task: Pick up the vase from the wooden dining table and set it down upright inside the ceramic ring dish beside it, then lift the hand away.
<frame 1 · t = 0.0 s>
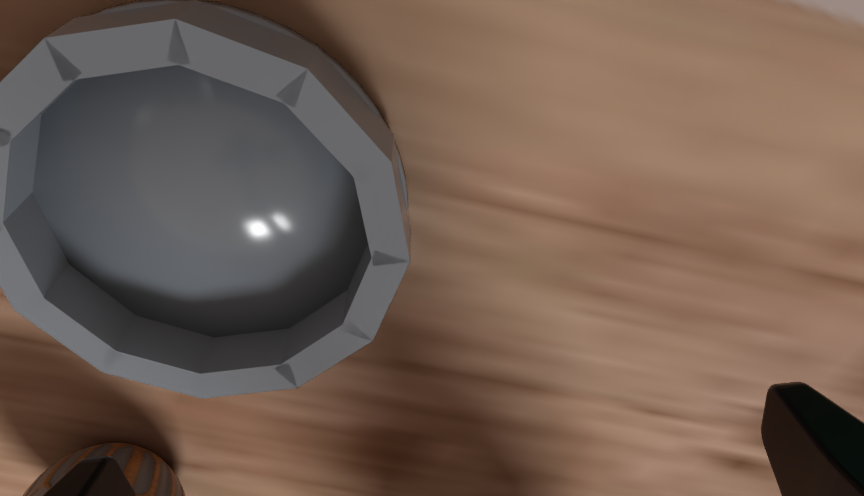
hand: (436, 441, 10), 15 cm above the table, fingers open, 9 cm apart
ring dish: (210, 201, 24), on the table
vase: (128, 468, 32), on the table
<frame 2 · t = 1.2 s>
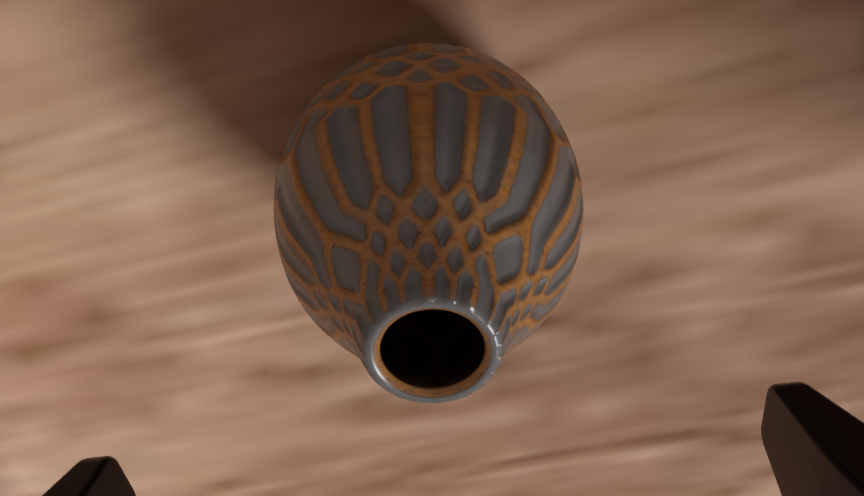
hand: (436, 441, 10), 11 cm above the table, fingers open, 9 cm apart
vase: (426, 136, 19), on the table
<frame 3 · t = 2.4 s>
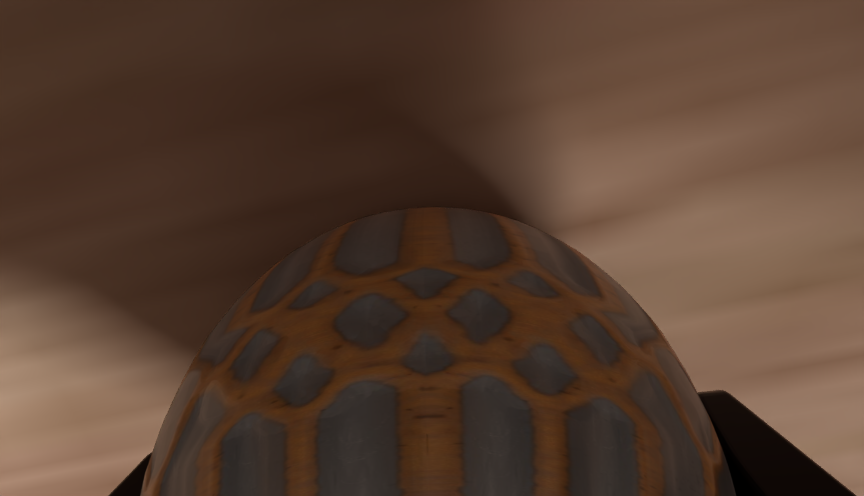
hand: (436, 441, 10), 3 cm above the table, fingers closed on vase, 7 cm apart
vase: (431, 316, 12), on the table, touching gripper
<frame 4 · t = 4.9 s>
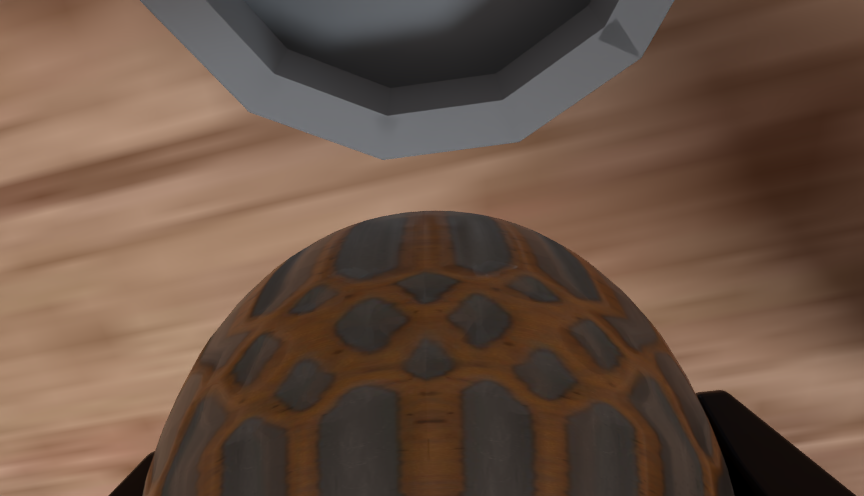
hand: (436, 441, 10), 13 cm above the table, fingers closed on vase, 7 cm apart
vase: (432, 319, 12), point 10 cm above the table, touching gripper
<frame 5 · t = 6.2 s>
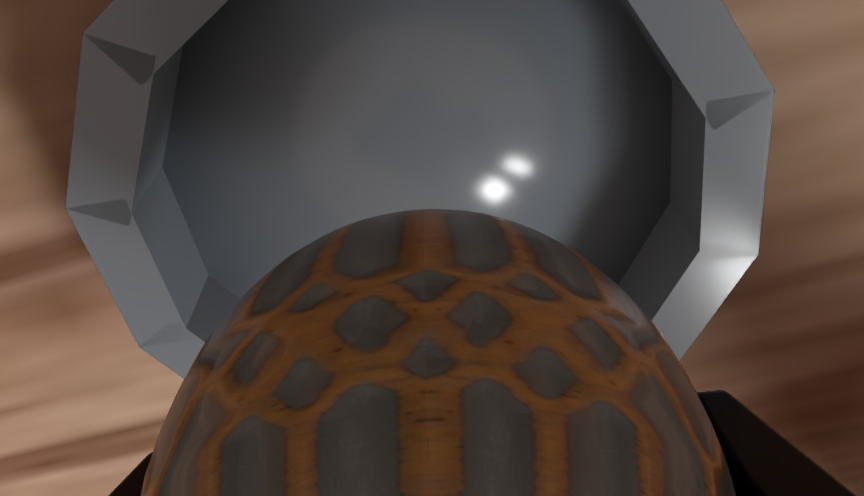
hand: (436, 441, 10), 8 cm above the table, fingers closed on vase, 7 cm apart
ring dish: (422, 174, 16), on the table
vase: (431, 318, 12), point 5 cm above the table, touching gripper
when the fingers open (4 cm above the table, at t = 7.3 s): vase drops 1 cm, resting on ring dish.
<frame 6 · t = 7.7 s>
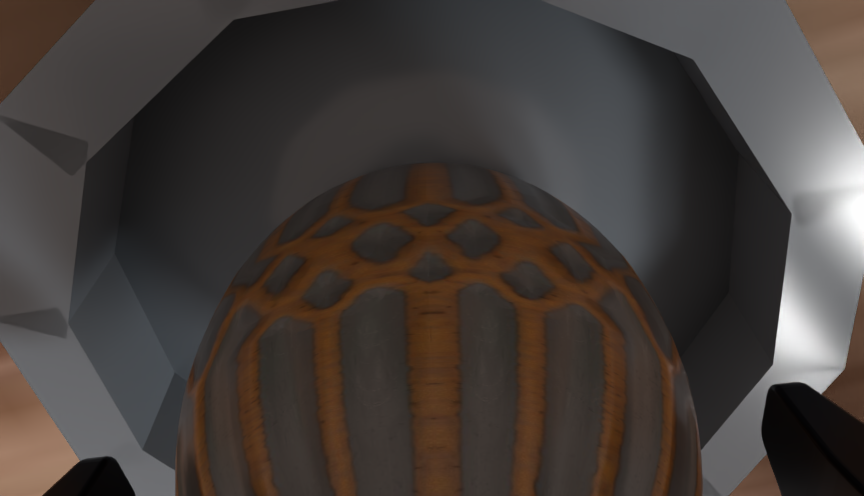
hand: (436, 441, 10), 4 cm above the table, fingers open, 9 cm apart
ring dish: (429, 258, 13), on the table
vase: (432, 271, 13), resting on ring dish
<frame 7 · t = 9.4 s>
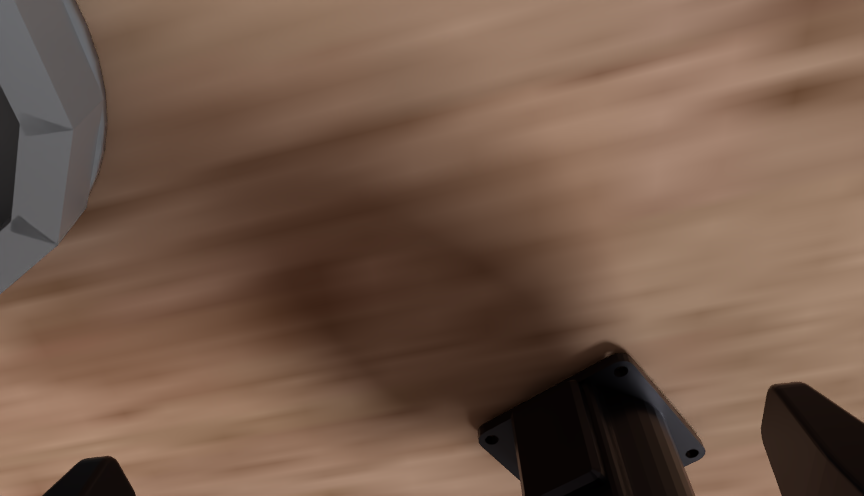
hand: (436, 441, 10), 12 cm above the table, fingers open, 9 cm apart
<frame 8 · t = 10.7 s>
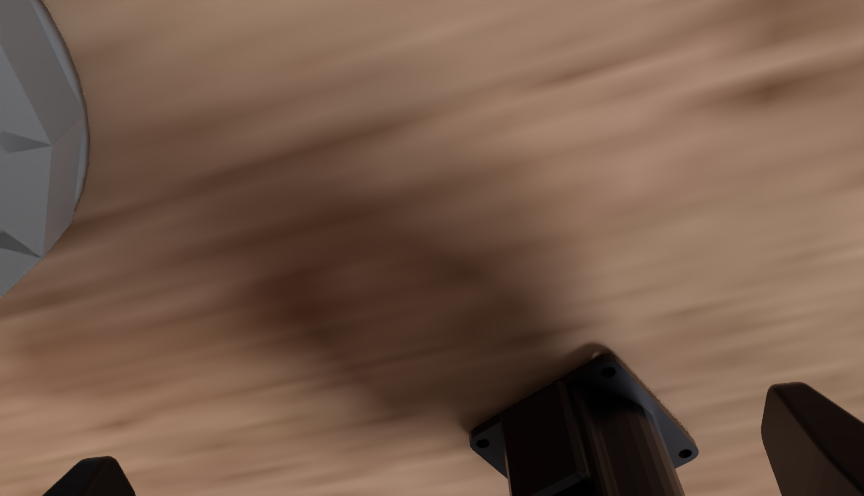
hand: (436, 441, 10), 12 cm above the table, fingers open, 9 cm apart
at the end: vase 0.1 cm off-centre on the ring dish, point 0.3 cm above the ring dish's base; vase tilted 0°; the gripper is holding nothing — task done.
